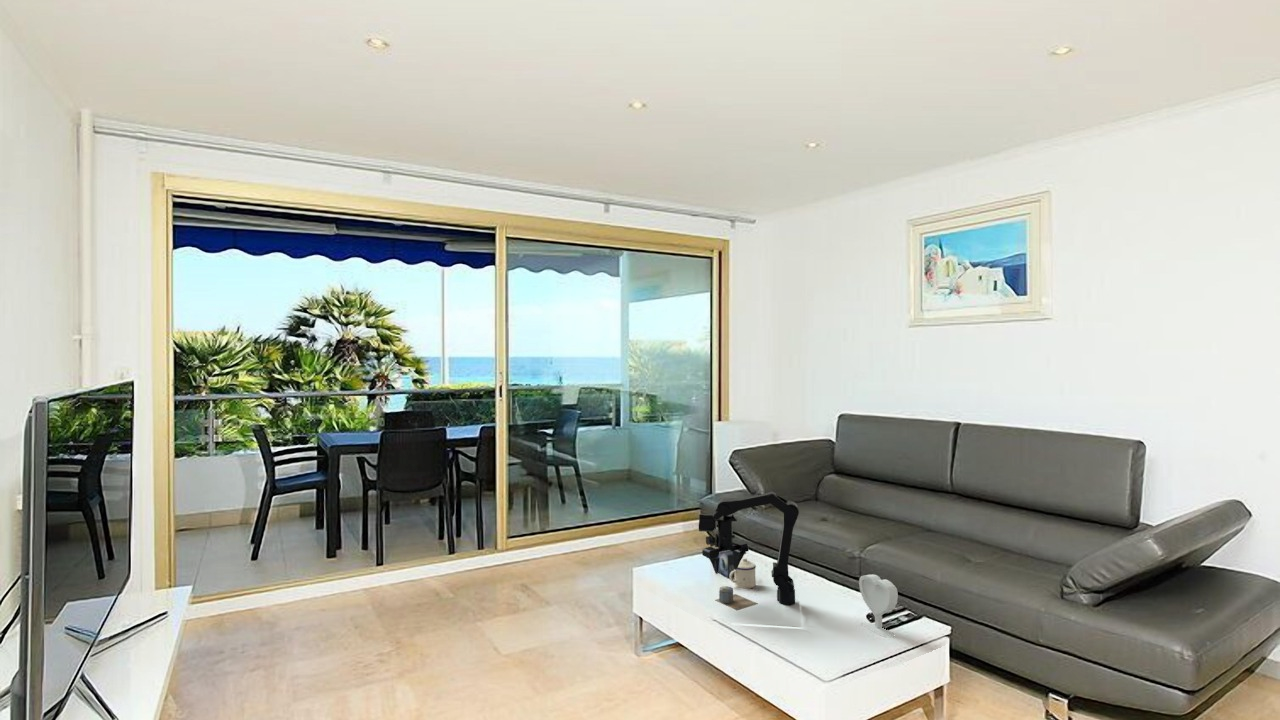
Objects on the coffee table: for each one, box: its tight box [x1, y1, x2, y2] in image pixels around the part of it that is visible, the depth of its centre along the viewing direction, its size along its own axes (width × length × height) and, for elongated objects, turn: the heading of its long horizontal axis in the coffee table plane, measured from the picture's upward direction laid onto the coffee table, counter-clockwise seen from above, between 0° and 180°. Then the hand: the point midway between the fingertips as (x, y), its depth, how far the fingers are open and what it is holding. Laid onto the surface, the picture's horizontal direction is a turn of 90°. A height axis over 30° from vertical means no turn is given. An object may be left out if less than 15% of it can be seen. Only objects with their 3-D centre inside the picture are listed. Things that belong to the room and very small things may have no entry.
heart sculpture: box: [858, 574, 899, 638], centre depth 238 cm, size 16×5×18 cm, turn 21°
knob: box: [718, 585, 734, 604], centre depth 266 cm, size 5×5×5 cm
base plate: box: [714, 593, 759, 611], centre depth 265 cm, size 13×11×4 cm
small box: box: [718, 551, 735, 579], centre depth 300 cm, size 11×6×10 cm, turn 25°
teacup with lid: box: [729, 557, 757, 589], centre depth 284 cm, size 12×9×12 cm
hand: (726, 571), depth 267 cm, fingers open, 9 cm apart
